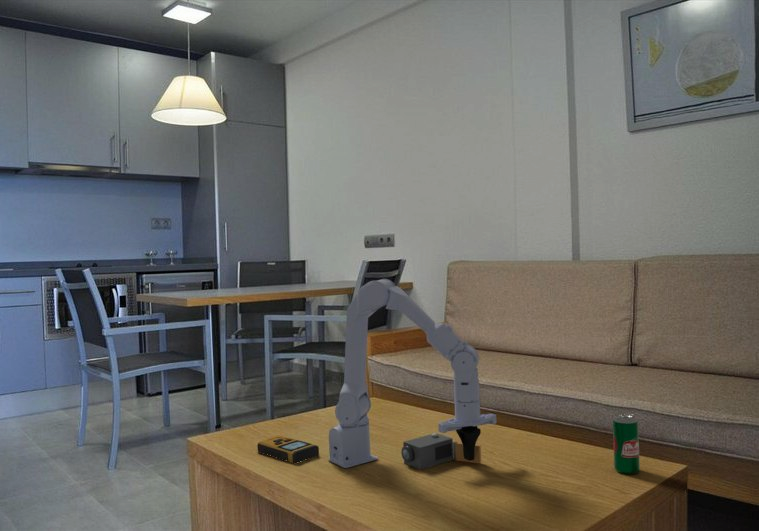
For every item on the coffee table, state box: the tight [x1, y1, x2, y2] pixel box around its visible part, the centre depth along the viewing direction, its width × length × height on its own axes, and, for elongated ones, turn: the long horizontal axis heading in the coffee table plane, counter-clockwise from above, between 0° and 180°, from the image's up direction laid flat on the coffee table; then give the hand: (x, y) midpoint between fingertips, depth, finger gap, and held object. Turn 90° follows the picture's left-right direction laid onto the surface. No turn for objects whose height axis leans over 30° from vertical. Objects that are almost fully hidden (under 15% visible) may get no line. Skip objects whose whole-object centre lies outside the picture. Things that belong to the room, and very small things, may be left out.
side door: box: [453, 440, 482, 464], centre depth 143 cm, size 7×1×4 cm, turn 60°
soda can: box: [612, 412, 641, 475], centre depth 133 cm, size 5×5×12 cm
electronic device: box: [257, 435, 320, 464], centre depth 155 cm, size 8×16×3 cm, turn 47°
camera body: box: [400, 432, 454, 471], centre depth 144 cm, size 11×6×6 cm, turn 126°
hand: (469, 459), depth 141 cm, fingers closed, pressing on side door
